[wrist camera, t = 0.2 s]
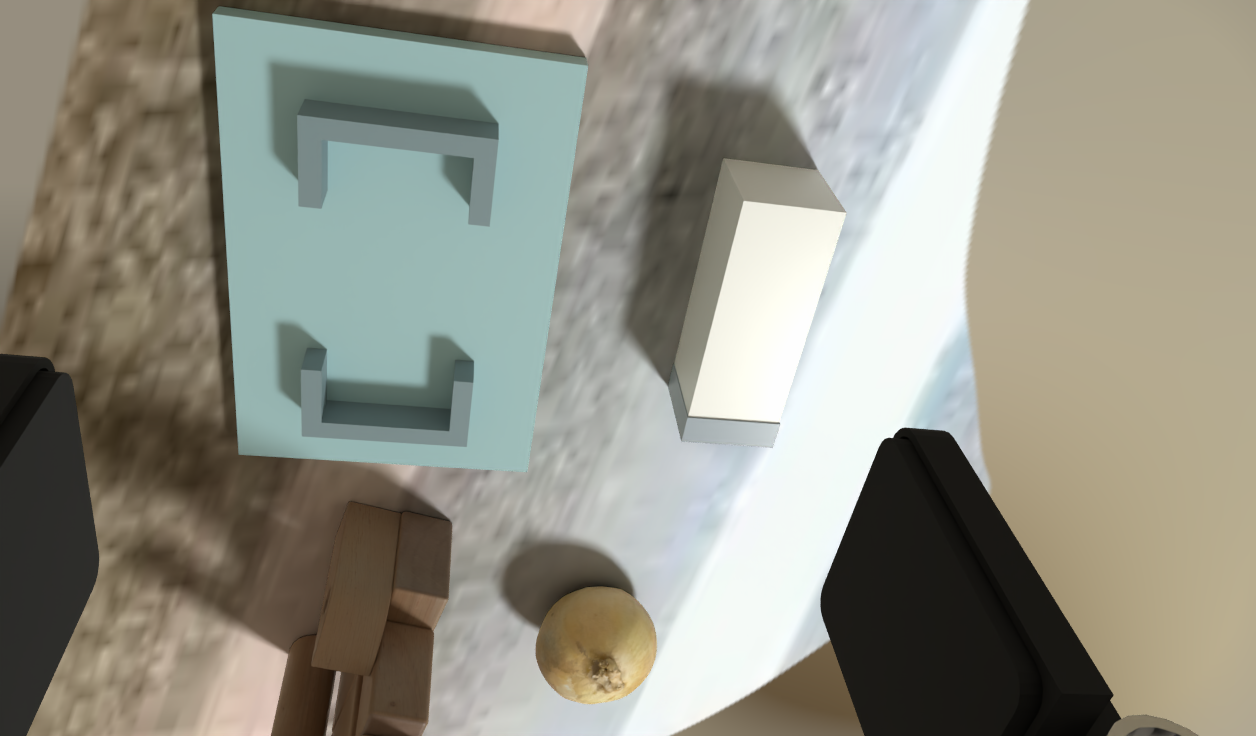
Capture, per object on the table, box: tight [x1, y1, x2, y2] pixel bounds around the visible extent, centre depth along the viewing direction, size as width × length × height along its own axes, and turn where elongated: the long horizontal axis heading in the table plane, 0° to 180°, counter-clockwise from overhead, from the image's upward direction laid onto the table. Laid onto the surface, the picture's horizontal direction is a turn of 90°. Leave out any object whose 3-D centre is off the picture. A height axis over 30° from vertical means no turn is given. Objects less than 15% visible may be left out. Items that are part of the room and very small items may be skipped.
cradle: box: [212, 6, 588, 472], centre depth 49 cm, size 24×16×3 cm, turn 170°
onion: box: [536, 586, 657, 704], centre depth 64 cm, size 8×8×7 cm
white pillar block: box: [668, 158, 846, 448], centre depth 51 cm, size 14×5×5 cm, turn 170°
